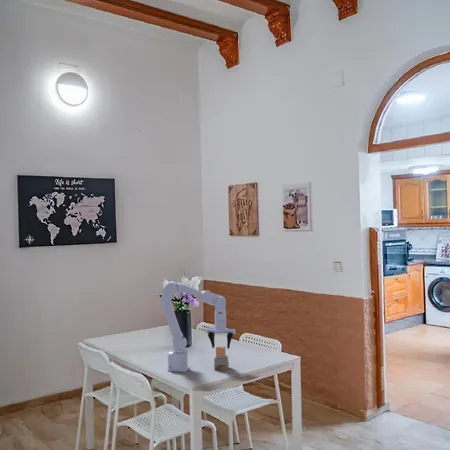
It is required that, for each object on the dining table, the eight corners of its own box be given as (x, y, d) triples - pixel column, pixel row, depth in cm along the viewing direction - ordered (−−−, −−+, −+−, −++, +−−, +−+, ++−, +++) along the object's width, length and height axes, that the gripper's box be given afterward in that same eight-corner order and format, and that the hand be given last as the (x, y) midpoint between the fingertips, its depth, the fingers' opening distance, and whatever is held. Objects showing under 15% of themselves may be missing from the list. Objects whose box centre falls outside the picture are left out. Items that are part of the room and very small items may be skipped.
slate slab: (214, 364, 240) (214, 358, 240) (216, 361, 246) (216, 355, 246) (226, 364, 239) (226, 358, 239) (228, 361, 245) (228, 355, 245)
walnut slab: (214, 370, 241) (214, 364, 241) (217, 367, 246) (216, 361, 246) (226, 371, 239) (226, 364, 239) (228, 367, 245) (228, 361, 245)
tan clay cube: (216, 358, 241) (215, 347, 241) (217, 356, 245) (217, 346, 245) (223, 358, 240) (223, 348, 240) (225, 356, 244) (225, 346, 244)
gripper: (204, 321, 241) (204, 349, 240) (233, 322, 238) (233, 350, 237) (207, 319, 247) (208, 345, 247) (235, 319, 244) (236, 346, 244)
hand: (220, 347), depth 243 cm, fingers open, 7 cm apart
